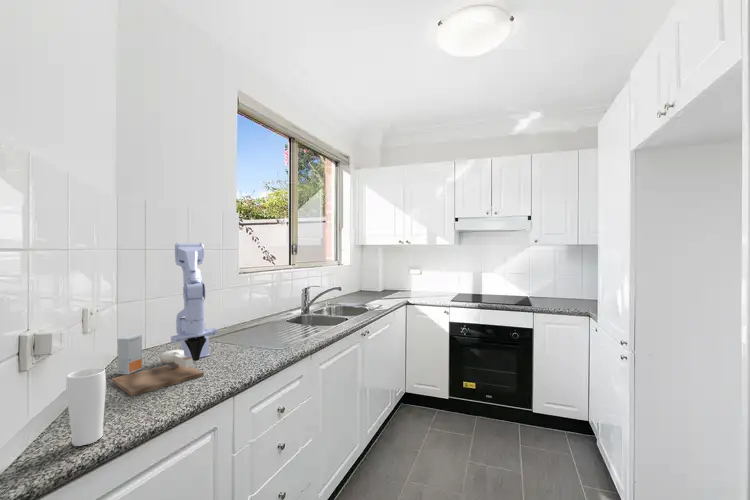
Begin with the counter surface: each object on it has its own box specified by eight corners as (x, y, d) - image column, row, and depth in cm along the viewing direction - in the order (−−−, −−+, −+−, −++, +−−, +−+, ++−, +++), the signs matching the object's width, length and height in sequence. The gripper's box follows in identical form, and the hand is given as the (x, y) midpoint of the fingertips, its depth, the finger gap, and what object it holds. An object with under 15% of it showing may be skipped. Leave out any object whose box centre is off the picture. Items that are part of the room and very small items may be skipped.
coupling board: (180, 365, 131) (180, 355, 131) (203, 375, 120) (203, 365, 120) (112, 382, 116) (111, 371, 116) (131, 396, 104) (131, 383, 104)
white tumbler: (82, 434, 83) (80, 368, 82) (114, 432, 83) (112, 366, 83) (59, 451, 76) (57, 378, 76) (93, 448, 76) (92, 377, 76)
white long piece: (157, 360, 125) (157, 352, 125) (179, 355, 131) (178, 348, 131) (178, 369, 115) (177, 361, 115) (200, 364, 120) (200, 356, 120)
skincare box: (128, 375, 122) (127, 339, 122) (117, 374, 123) (116, 338, 123) (143, 369, 128) (142, 334, 128) (132, 368, 129) (132, 334, 129)
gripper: (177, 324, 114) (177, 368, 114) (221, 317, 125) (222, 356, 125) (167, 321, 118) (168, 363, 118) (211, 315, 129) (212, 353, 129)
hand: (195, 360), depth 122 cm, fingers closed
